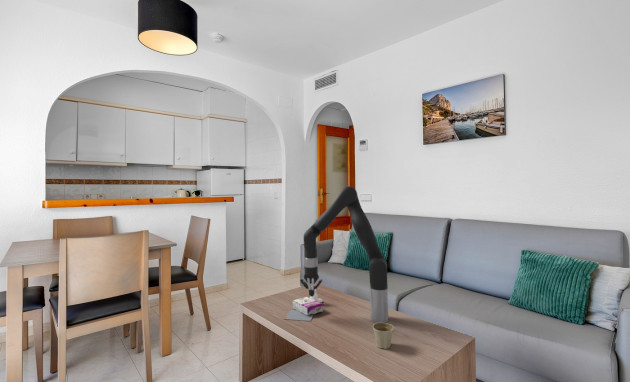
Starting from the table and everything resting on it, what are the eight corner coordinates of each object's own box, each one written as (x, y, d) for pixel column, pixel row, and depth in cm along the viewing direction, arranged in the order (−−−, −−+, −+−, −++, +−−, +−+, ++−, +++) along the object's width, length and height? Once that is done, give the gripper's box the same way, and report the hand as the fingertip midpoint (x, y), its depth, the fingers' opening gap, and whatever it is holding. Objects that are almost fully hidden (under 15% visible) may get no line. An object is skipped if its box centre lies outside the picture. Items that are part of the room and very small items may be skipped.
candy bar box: (323, 312, 182) (307, 304, 195) (323, 303, 182) (307, 296, 195) (307, 316, 175) (292, 308, 189) (307, 307, 175) (292, 299, 189)
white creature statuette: (322, 301, 199) (322, 282, 199) (321, 306, 191) (320, 287, 190) (307, 301, 200) (307, 282, 200) (305, 306, 192) (305, 286, 191)
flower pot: (378, 338, 150) (378, 320, 150) (397, 344, 144) (397, 325, 144) (369, 346, 142) (368, 327, 142) (388, 353, 136) (387, 333, 136)
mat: (315, 311, 183) (315, 311, 183) (310, 321, 170) (310, 320, 170) (290, 310, 186) (290, 309, 186) (283, 319, 173) (283, 318, 173)
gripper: (323, 264, 179) (324, 294, 179) (301, 263, 181) (302, 293, 182) (321, 267, 171) (322, 299, 171) (297, 266, 174) (298, 297, 174)
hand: (311, 296), depth 177 cm, fingers closed
